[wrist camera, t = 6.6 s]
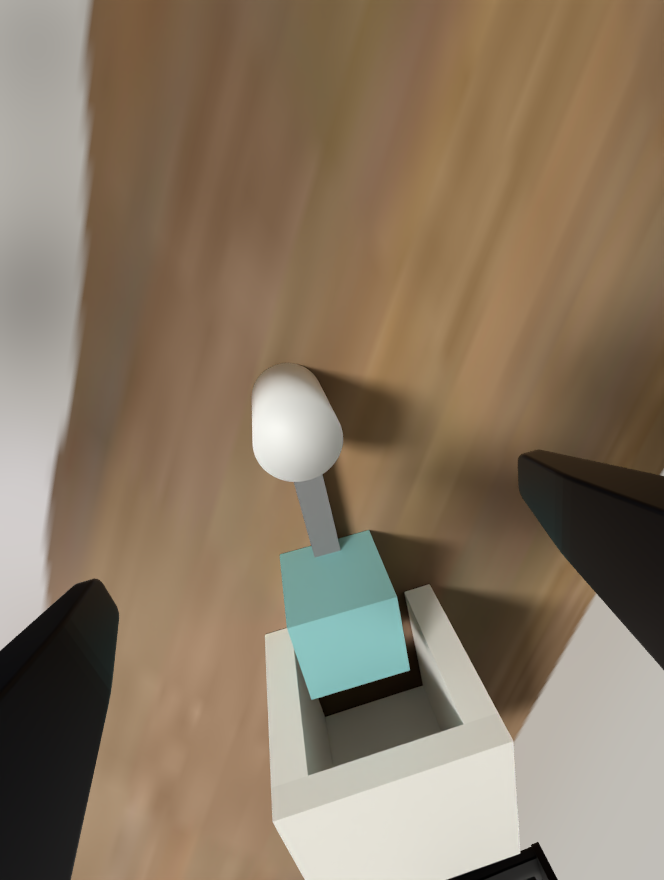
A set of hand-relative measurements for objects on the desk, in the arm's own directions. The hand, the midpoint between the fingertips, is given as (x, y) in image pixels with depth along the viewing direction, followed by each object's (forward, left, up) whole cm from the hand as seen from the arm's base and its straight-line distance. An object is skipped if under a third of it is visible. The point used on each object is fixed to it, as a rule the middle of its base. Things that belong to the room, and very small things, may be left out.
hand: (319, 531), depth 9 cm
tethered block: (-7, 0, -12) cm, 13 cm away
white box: (-20, 0, -12) cm, 23 cm away
